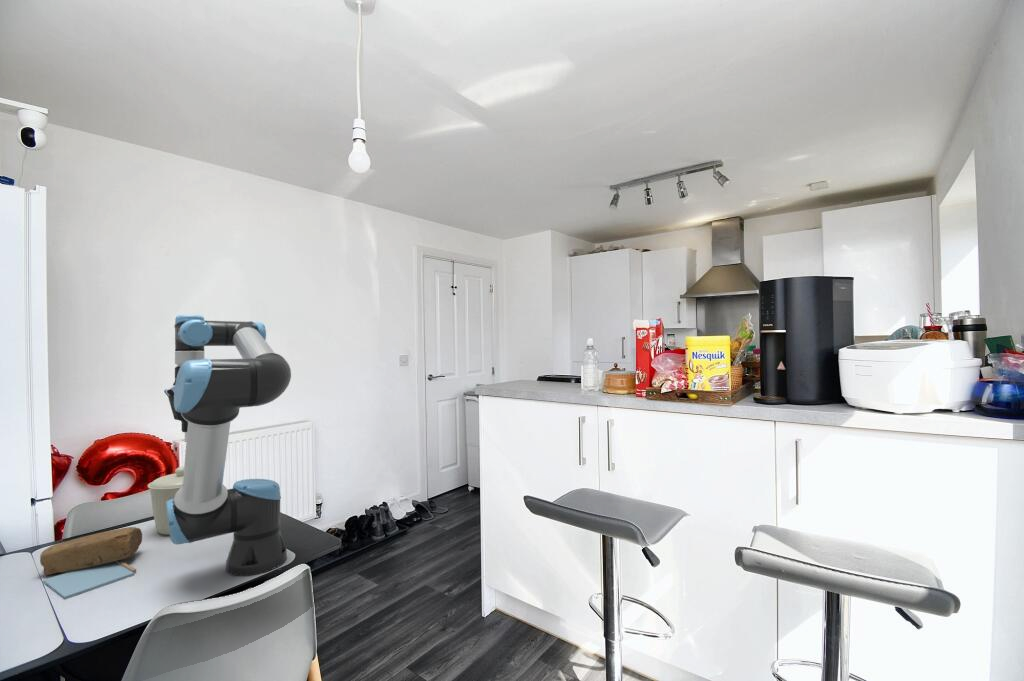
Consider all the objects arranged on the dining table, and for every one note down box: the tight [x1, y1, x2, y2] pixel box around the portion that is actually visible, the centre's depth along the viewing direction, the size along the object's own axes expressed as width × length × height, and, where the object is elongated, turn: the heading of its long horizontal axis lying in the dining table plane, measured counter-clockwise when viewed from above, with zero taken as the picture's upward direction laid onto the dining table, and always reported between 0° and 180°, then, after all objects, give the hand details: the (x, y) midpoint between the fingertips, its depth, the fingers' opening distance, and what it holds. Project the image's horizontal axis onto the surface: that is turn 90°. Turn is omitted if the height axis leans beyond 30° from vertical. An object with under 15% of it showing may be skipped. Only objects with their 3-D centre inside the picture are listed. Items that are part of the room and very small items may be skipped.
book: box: [42, 559, 137, 600], centre depth 124 cm, size 16×15×1 cm
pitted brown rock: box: [39, 526, 143, 576], centre depth 132 cm, size 11×8×20 cm
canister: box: [147, 466, 184, 536], centre depth 157 cm, size 18×18×21 cm
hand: (189, 442), depth 143 cm, fingers closed
